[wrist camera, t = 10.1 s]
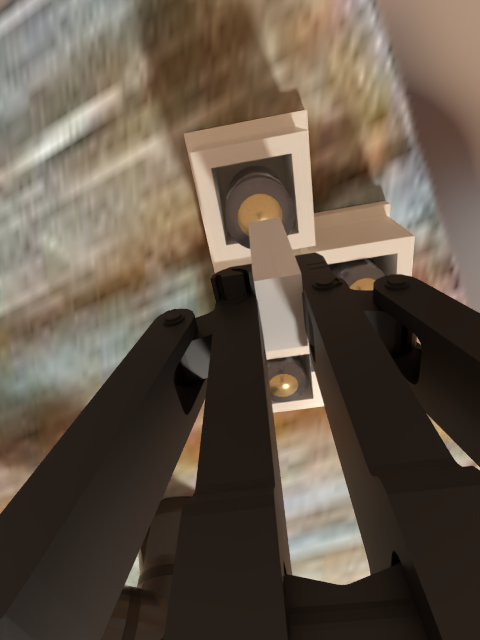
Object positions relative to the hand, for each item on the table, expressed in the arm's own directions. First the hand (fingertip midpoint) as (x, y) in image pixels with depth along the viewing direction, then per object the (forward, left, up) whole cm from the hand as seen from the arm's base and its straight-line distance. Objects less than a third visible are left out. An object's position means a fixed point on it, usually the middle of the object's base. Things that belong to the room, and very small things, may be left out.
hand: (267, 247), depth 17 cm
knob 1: (0, 0, -12) cm, 12 cm away
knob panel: (+3, -9, -17) cm, 20 cm away
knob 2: (0, -17, -16) cm, 23 cm away
